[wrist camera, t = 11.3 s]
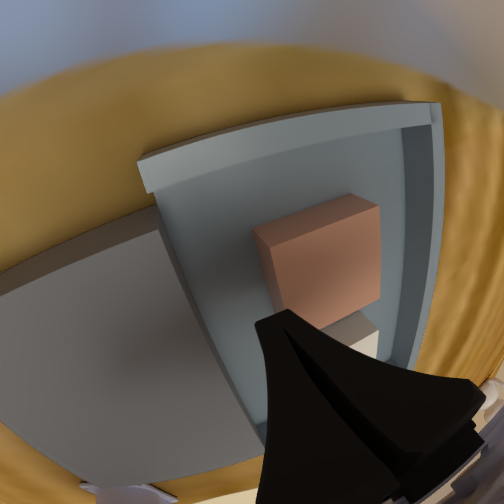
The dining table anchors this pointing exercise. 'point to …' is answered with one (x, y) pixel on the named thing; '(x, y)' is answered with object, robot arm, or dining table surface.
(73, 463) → the plate
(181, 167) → the tray
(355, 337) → the cream tile
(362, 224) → the terracotta tile
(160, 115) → the dining table surface
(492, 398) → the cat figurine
